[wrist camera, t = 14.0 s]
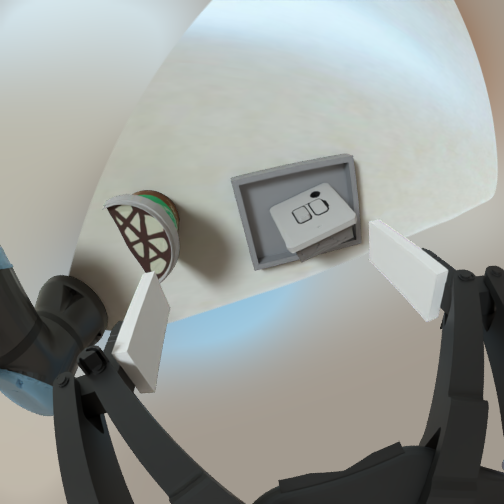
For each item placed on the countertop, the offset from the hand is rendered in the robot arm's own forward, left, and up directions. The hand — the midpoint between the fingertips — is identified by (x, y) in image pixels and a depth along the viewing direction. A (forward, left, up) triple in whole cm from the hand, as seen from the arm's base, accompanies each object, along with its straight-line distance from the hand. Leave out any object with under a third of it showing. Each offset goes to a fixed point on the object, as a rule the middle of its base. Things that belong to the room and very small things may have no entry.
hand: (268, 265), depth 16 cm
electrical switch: (+8, -6, -24) cm, 26 cm away
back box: (+7, -6, -24) cm, 26 cm away
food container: (-12, -1, -24) cm, 27 cm away
